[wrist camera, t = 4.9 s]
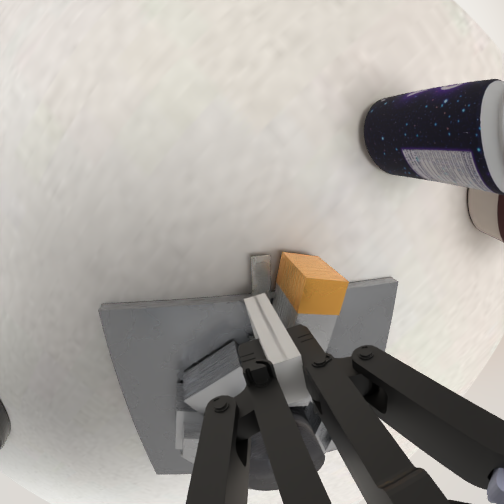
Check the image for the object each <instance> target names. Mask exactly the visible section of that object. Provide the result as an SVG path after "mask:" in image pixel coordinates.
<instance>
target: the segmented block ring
mask: <svg viewBox="0 0 504 504" xmlns="http://www.w3.org/2000/svg"><path fill="white" fill-rule="evenodd" d="M276 282H277V284H276V288H275V293H274V297H273V302H272V306H273V308H274V310H275V311H276V313H277V315H278V317H279V318H280V320H281V322H282V323H283V325H284V327H285V329H287V328H290V327H293V326H296V325H299V324H302V325H304V326H306V327H307V328H308V329H309V330H310V332H311V334H312V335H313V336H314V338H315V339H316V340H317V342H318V343H319V345H320V346H321V347H322V349H323V350H324V352H325V353H328V352H327V347H328V344H329V341H330V338H331V335H332V332H333V329H334V326H335V323H336V319H337V316H338V315H339V314H340V311H341V307H342V304H343V301H344V297H345V294H346V290H347V287H348V283H349V281H347V280H346V279H345V278H344V277H343V276H341V275H340V274H339V273H338V272H337V271H335V270H334V269H333V268H332V267H330V266H329V265H328V264H327V263H326V262H324V261H323V260H322V259H321V258H319V257H318V256H311V255H303V254H295V253H287V252H282V255H281V260H280V265H279V269H278V274H277V279H276ZM252 340H255V336H249V340H248V342H249V341H252ZM238 349H239V345H238V344H237V343H236V342H235V341H232V342H231V343H229V344H228V345H226V346H225V347H223V348H222V349H220V350H219V351H217V352H216V353H214V354H213V355H211V356H210V357H208V358H206V359H205V360H203V361H202V362H200V363H199V364H197V365H196V366H194V367H193V368H191V369H189V370H188V371H186V372H185V373H183V384H182V383H177V393H176V416H175V449H180V451H181V457H183V458H184V459H186V460H188V461H190V462H191V463H193V464H194V461H195V456H196V452H197V447H198V442H199V437H200V433H201V428H202V423H203V419H204V414H205V409H206V406H207V404H208V402H209V401H210V400H212V399H213V398H215V397H217V396H222V395H228V396H230V397H235V396H237V395H238V394H240V393H241V392H242V391H243V390H244V389H245V387H246V381H245V378H244V376H243V367H242V364H241V360H240V357H239V353H238ZM328 354H329V353H328ZM308 394H309V392H308ZM288 406H289V407H295V406H306V408H305V410H304V412H305V414H306V416H307V418H308V421H309V423H310V425H311V427H312V429H313V431H314V433H315V436H316V438H317V440H318V442H319V444H320V446H321V448H322V451H323V453H324V454H325V453H326V452H328V451H330V450H334V449H337V448H336V446H335V444H334V442H333V440H332V439H331V437H330V435H329V433H328V431H327V429H326V427H325V426H324V424H323V422H322V420H321V418H320V416H319V414H318V413H316V414H315V413H314V408H313V402H312V397H311V395H310V394H309V397H307V398H305V399H302V400H299V401H296V402H293V403H290V404H288ZM248 489H250V488H248Z"/></svg>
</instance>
